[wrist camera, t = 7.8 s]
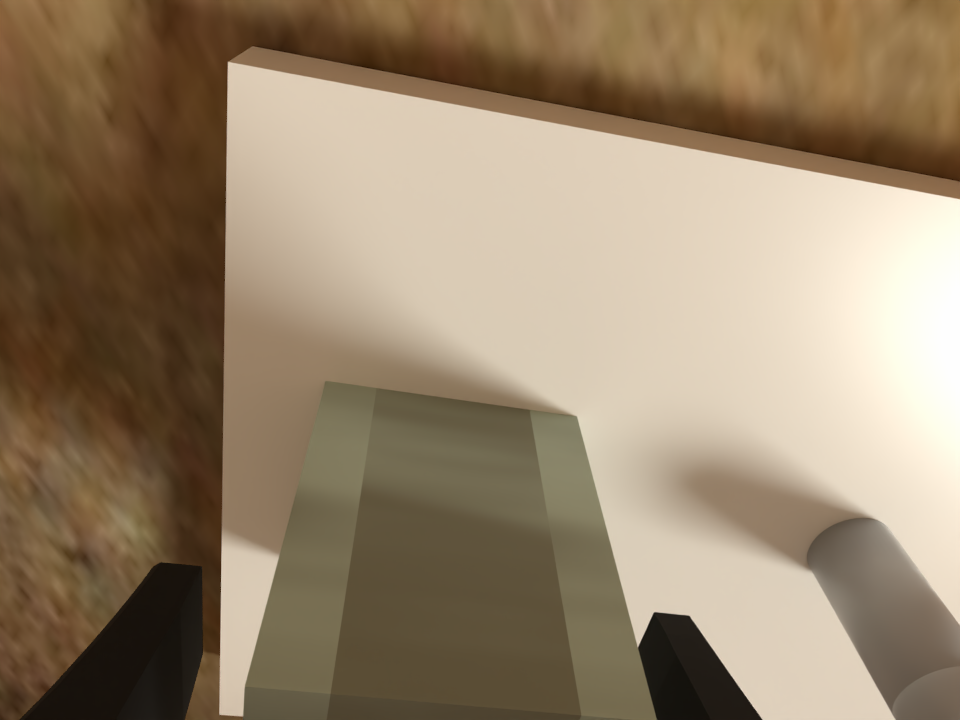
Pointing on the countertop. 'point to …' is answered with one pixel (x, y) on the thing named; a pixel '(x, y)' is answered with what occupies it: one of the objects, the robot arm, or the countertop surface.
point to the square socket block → (444, 572)
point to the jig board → (618, 357)
